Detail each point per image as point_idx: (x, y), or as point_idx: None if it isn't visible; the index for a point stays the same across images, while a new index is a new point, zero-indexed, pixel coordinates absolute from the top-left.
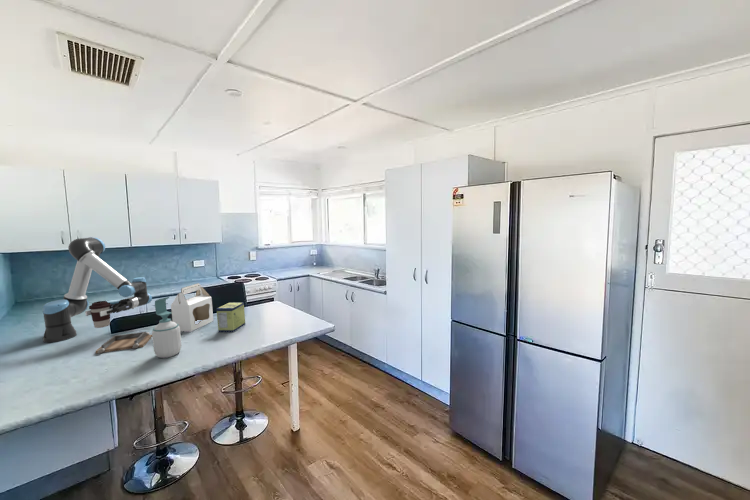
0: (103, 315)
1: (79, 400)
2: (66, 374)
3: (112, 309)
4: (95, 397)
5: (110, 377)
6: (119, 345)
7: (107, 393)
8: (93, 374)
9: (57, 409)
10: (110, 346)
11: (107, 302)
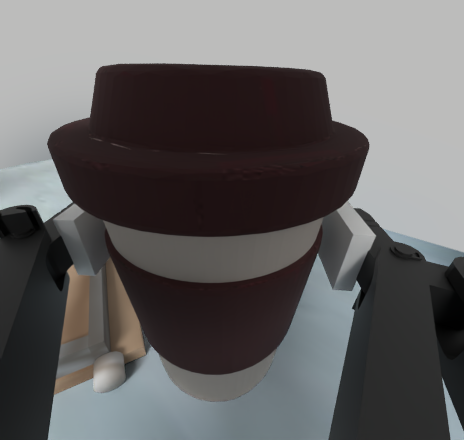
0: None
1: (50, 161)
2: None
3: (42, 230)
4: (29, 164)
5: (22, 185)
6: None
7: (14, 167)
8: (63, 190)
9: None
10: (84, 275)
11: (98, 103)
